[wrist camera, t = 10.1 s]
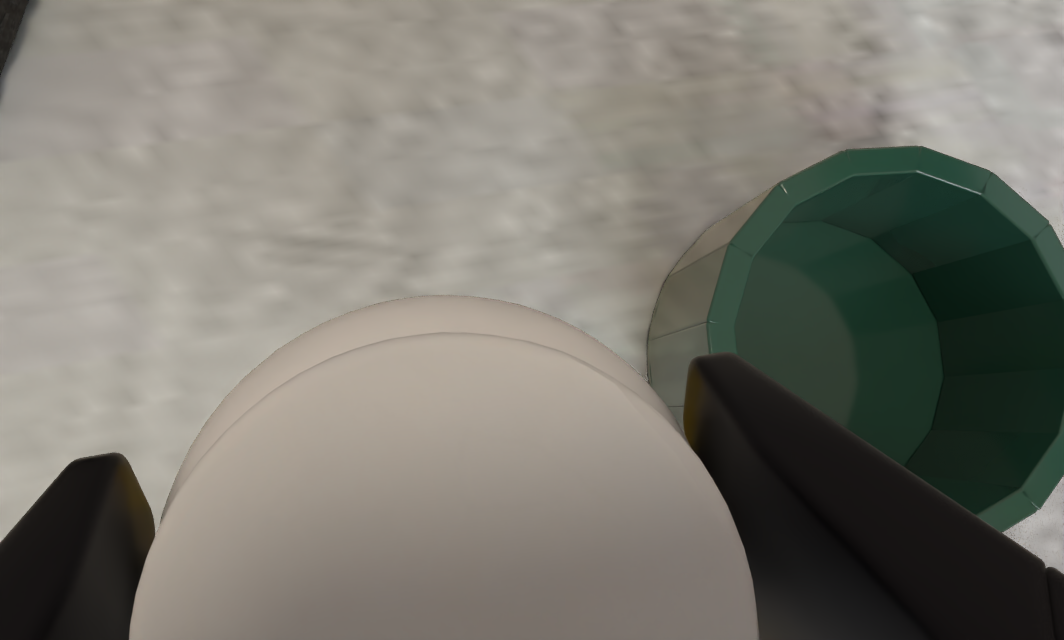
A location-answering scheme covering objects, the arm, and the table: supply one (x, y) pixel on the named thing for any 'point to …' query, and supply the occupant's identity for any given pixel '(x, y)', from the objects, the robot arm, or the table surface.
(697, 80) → the table surface
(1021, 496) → the crock
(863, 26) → the table surface
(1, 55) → the phone
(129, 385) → the table surface
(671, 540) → the supplement bottle
